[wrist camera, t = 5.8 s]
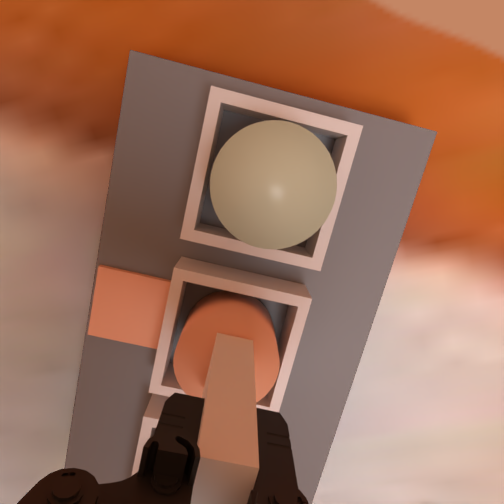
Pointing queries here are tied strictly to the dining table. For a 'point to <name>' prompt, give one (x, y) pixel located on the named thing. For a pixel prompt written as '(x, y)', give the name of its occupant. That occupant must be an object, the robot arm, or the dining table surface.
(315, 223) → the sage button
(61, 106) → the dining table surface
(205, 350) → the terracotta button
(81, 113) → the dining table surface
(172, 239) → the button panel
